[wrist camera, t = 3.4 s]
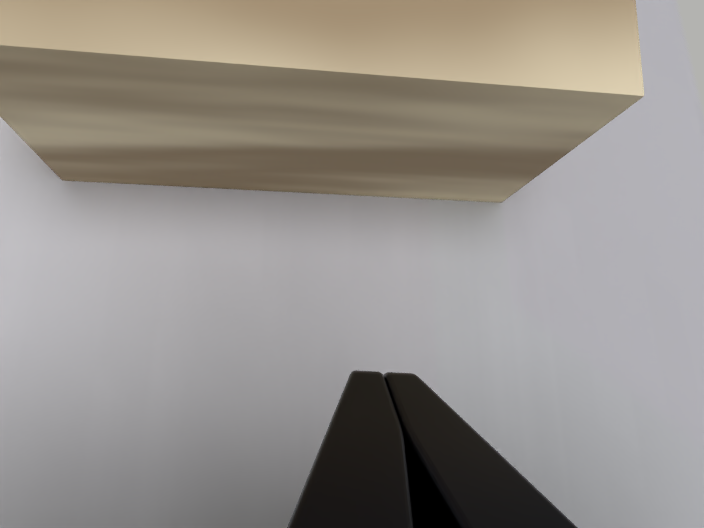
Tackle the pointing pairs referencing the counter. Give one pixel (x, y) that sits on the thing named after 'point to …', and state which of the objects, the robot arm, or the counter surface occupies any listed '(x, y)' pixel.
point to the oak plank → (316, 91)
